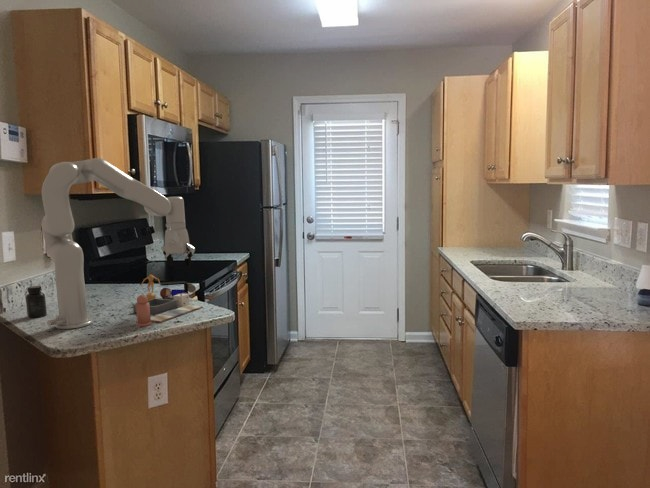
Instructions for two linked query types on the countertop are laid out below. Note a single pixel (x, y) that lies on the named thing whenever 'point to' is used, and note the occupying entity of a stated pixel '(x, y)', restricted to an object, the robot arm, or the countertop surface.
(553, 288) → the countertop surface
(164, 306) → the tray
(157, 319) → the track
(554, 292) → the countertop surface
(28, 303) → the supplement bottle
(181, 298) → the die
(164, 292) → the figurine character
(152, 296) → the figurine
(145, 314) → the pink cylinder
